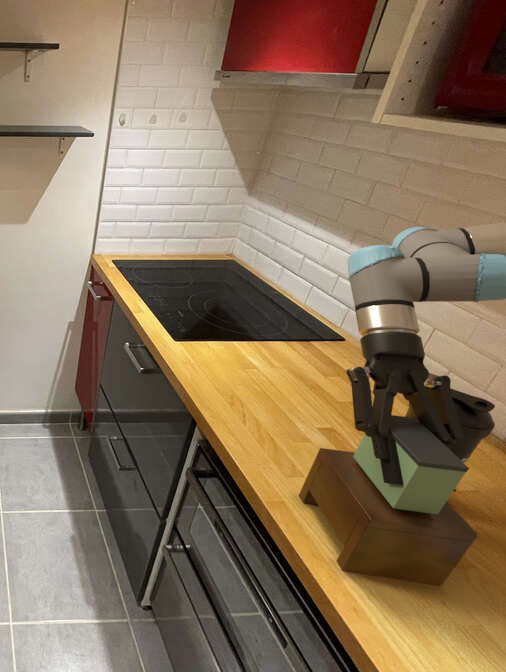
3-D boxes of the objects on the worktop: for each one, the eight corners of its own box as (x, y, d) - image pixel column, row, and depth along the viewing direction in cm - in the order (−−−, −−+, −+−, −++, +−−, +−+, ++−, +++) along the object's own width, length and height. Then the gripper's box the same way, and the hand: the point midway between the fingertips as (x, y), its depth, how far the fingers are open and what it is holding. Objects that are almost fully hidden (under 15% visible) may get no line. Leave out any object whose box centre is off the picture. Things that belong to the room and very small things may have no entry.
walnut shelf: (381, 506, 82) (408, 458, 77) (441, 586, 69) (478, 534, 64) (298, 495, 84) (319, 447, 79) (341, 570, 71) (370, 519, 66)
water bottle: (422, 521, 79) (485, 421, 70) (358, 476, 88) (407, 382, 78) (453, 502, 83) (518, 405, 73) (389, 461, 91) (439, 370, 82)
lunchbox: (392, 461, 75) (416, 417, 71) (438, 515, 66) (469, 468, 62) (352, 456, 76) (374, 412, 72) (392, 508, 67) (420, 462, 63)
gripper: (434, 346, 76) (468, 494, 69) (312, 334, 79) (332, 476, 71) (475, 336, 69) (519, 500, 62) (341, 324, 72) (366, 479, 64)
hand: (419, 486), depth 66 cm, fingers closed on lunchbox, 6 cm apart
